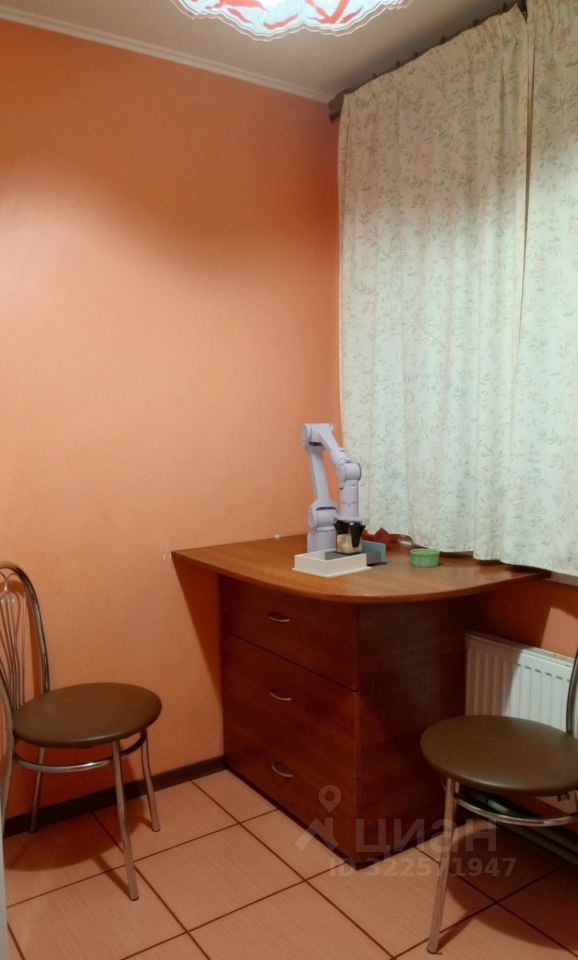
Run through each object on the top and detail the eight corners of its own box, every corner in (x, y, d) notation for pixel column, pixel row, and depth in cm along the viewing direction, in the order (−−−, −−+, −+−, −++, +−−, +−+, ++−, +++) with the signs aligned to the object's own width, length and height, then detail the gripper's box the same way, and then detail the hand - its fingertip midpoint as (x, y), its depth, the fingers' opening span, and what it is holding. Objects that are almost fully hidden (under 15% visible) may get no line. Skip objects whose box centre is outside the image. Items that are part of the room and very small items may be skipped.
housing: (334, 561, 237) (334, 547, 237) (371, 569, 225) (371, 554, 225) (292, 570, 226) (291, 554, 225) (328, 578, 214) (328, 562, 213)
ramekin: (445, 565, 230) (445, 550, 230) (427, 569, 224) (427, 555, 224) (422, 561, 237) (422, 547, 236) (404, 565, 230) (404, 551, 230)
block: (337, 551, 230) (337, 535, 229) (351, 548, 233) (351, 533, 233) (347, 553, 226) (347, 536, 226) (361, 550, 230) (361, 534, 230)
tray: (355, 556, 241) (355, 539, 241) (385, 561, 231) (385, 543, 231) (322, 562, 232) (322, 544, 231) (352, 568, 222) (352, 550, 221)
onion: (392, 548, 259) (392, 525, 258) (387, 551, 253) (387, 528, 253) (376, 547, 261) (376, 525, 260) (371, 550, 256) (371, 527, 255)
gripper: (323, 501, 232) (324, 545, 233) (357, 505, 221) (357, 550, 222) (339, 499, 236) (340, 542, 237) (373, 503, 225) (373, 547, 226)
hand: (349, 546), depth 230 cm, fingers closed on block, 4 cm apart
